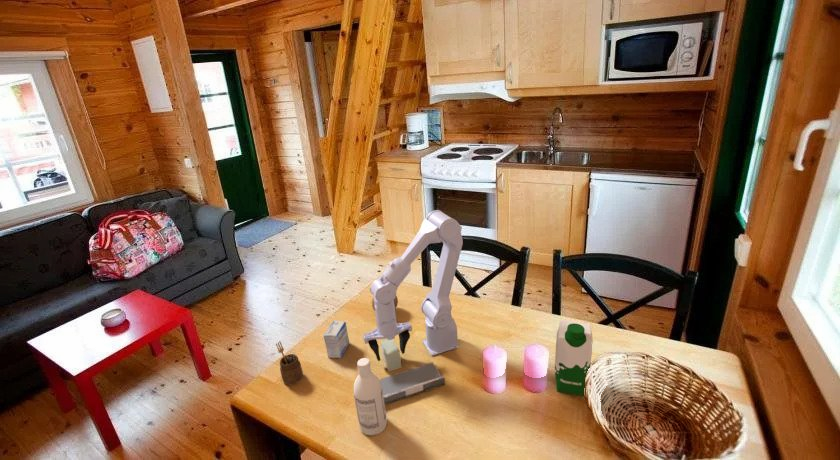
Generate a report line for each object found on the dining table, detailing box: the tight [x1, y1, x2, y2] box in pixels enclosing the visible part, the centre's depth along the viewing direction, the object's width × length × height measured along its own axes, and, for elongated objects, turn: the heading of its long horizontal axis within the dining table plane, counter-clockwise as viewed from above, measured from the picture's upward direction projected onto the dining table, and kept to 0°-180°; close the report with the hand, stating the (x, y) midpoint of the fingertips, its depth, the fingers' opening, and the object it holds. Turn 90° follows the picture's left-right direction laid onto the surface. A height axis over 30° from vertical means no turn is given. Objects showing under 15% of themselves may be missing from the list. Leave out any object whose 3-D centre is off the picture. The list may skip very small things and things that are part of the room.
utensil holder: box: [275, 341, 304, 386], centre depth 118 cm, size 6×6×12 cm
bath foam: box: [352, 357, 388, 436], centre depth 99 cm, size 7×7×20 cm
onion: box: [371, 295, 399, 312], centre depth 148 cm, size 10×9×10 cm
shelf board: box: [379, 362, 446, 406], centre depth 114 cm, size 20×9×2 cm, turn 110°
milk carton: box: [554, 319, 594, 397], centre depth 106 cm, size 9×9×20 cm
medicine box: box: [323, 320, 350, 359], centre depth 130 cm, size 8×4×9 cm, turn 168°
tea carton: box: [380, 338, 402, 372], centre depth 123 cm, size 4×7×6 cm, turn 20°
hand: (390, 355), depth 123 cm, fingers open, 7 cm apart
